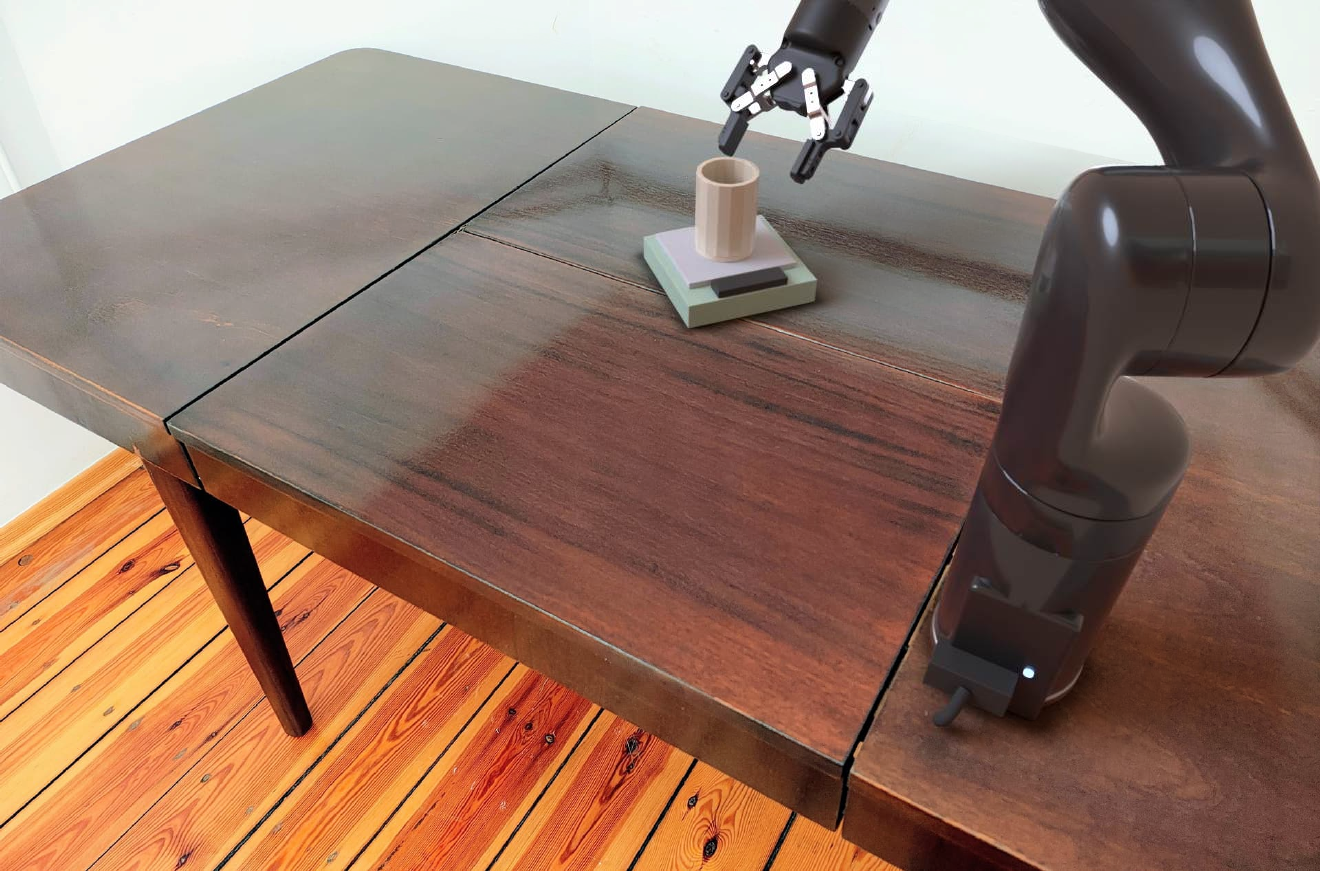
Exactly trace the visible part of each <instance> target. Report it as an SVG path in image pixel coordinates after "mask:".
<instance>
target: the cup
mask: <svg viewBox="0 0 1320 871" xmlns="http://www.w3.org/2000/svg"><path fill="white" fill-rule="evenodd" d="M760 174H761V170H760V168H759V167H758V166H757V165H756V164H755V163H753V162H751V161H750V160H749V159H745V158H741V157H736V156H732V157H730V156H719V157H713V158H710V159H707V160H705V161H703V162H701V163H700V164H699V165H698V166H697V168H696V171H695V210H694V211H695V212H694V226H695V249H696V251H697V252H698V254H699V255H701V256H702V257H704V258H706V259H708V260H711V261H715V262H723V263H728V262H736V261H740V260H743V259H745V258H747V257H749V256H750V255H751V254H752V252H753V251H754V243H755V231H756V217H757V215H758V205H759V204H758V203H759V202H758V201H759V191H760V190H759V189H760V188H759V187H760V176H761V175H760Z"/></svg>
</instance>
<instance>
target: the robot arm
mask: <svg viewBox="0 0 1320 871" xmlns="http://www.w3.org/2000/svg"><path fill="white" fill-rule="evenodd" d="M889 2H890V0H800V1H799V3H798V5H797V7H796V8H795V11H794V13H793V15H792V17H791V18H790V21H789V23H788V24H787V27H786V29H785V30H784V33H783V36H782V41H781V44H780V46H779V48H778V49H777V50H776V51H775V52H774V53H773V54H772V55H770V54H767V53H764V52H763V51H760V49H759V48H758V47H757V46H756V44H753V43H751V44H749V45H748V46H747V47H745V50H744V52H742V55H741V57H740V58H739V60H738V62H737V64H736V65H735V67H734V69H733V71H732V72H731V74H730V75H729V78H728V79H727V81H726V83H725V85H724V86H723V88H722V89H721V92H720V94H719V96H720V99H721V100H722V101H723V103H725V105H726V106H727V107H728V108H729V110H730V112H729V116H728V118H727V119H726V121H725V124H724V125H723V127H722V129H721V131H720V133H719V135H718V138H717V142H718V150H719V151H720V152H721V153H722V154H723V155H724V156H726V157H734V155H735V153H736V151H737V149H738V147H739V146H740V144H741V142H742V140H743V138H744V136H745V134H746V132H747V129H748V128H749V126H750V123H749V122H750V121H751V120H753V119H754V118H756V117H757V116H760V114H763V113H768V112H770V111H772V110H773V109H775V108H777V107H778V108H779V109H780V110H783V111H786V112H795V113H796V114H797V115H799V116H800V117H804V118H807V117H808V118H809V123H810V131H811V135H812V136H811V137H812V138H811V139H810V138H806V141H805V142H804V145H803V146H802V148H801V150H800V152H799V154H798V155H797V158H796V159H795V162H794V164H793V166H792V168H791V169H790V172H789V178H791V180H793V182H794V183H796V184H798V185H804V184H805V182H806V181H809V180H810V179H812V178H813V177H814V175H815V173H816V171H817V170H818V167H819V166H820V163H821V162H822V160H823V158H824V155H825V154H826V153H827V151H829V150H831V149H840V150H843V151H847V150H849V149H850V148H851V147H852V145H853V144H854V141H855V138H856V137H857V134H858V132H859V130H860V128H861V125H862V123H863V122H864V120H865V117H866V115H867V113H868V111H869V108H870V106H871V104H872V102H873V100H874V96H875V94H874V92H873V90H872V88H871V86H870V84H869V83H868V81H867V80H866V79H865V78H862V77H861V78H858V79H856V80H851V79H849V77H850V74H852V73H853V72H854V70H855V69H856V67H857V65H858V64H859V61H860V59H861V57H862V55H863V54H864V51H865V50H866V47H867V46H868V44H869V42H870V40H871V38H872V36H873V34H874V32H875V31H876V29H877V26H878V25H879V24H880V23H881V21H882V19H883V15H884V13H885V11H886V9H887V7H888V4H889ZM1036 2H1037V5H1038V8H1039V10H1040V12H1041V14H1042V15H1043V17H1044V19H1045V20H1046V22H1047V24H1048V26H1049V28H1050V29H1051V30H1052V31H1053V33H1054V34H1055V36H1056V37H1057V38H1058V39H1059V40H1060V42H1061V43H1062V44H1063V45H1064V46H1065V48H1066V49H1067V50H1068V51H1069V52H1070V53H1071V54H1072V55H1073V56H1074V57H1075V58H1076V59H1077V60H1078V61H1079V62H1080V63H1081V64H1082V65H1083V67H1085V68H1086V69H1087V70H1088V71H1089V73H1091V74H1092V75H1093V76H1094V77H1095V78H1096V79H1097V80H1098V81H1100V82H1101V84H1103V85H1104V86H1105V88H1107V89H1108V90H1109V91H1110V92H1111V93H1112V94H1113V95H1114V96H1115V97H1117V99H1119V100H1120V101H1121V102H1122V104H1124V105H1125V107H1127V109H1129V111H1130V112H1131V113H1132V114H1133V115H1134V116H1135V117H1136V119H1138V121H1139V122H1140V123H1141V124H1142V126H1143V127H1144V129H1145V130H1146V131H1147V132H1148V134H1149V136H1150V137H1151V139H1152V141H1153V143H1154V144H1155V146H1156V148H1157V150H1158V152H1159V154H1160V156H1161V159H1162V161H1163V164H1103V165H1095V166H1092V167H1089V168H1086V169H1084V170H1083V171H1082V172H1080V173H1078V174H1077V175H1076V176H1075V177H1074V178H1073V179H1072V180H1070V182H1069V183H1068V184H1067V185H1066V187H1065V188H1064V189H1063V191H1062V192H1061V194H1060V195H1059V196H1058V198H1057V200H1056V202H1055V204H1054V206H1053V208H1052V210H1051V212H1050V214H1049V218H1048V220H1047V223H1046V226H1045V228H1044V230H1043V234H1042V238H1041V241H1040V245H1039V249H1038V252H1037V255H1036V260H1035V264H1034V268H1033V271H1032V278H1031V281H1030V285H1029V290H1028V294H1027V298H1026V301H1025V306H1024V309H1023V314H1022V317H1021V321H1020V326H1019V328H1018V329H1019V330H1018V333H1017V336H1016V340H1015V343H1014V347H1013V350H1012V353H1011V357H1010V361H1009V365H1008V370H1007V374H1006V378H1005V385H1004V390H1003V397H1002V402H1001V408H1000V413H999V416H998V419H997V423H996V425H995V426H996V427H995V429H994V433H993V436H992V439H991V442H990V445H989V448H988V451H987V453H986V454H987V455H986V457H985V459H984V464H983V466H982V469H981V472H980V475H979V478H978V480H977V483H976V487H975V490H974V493H973V496H972V499H971V502H970V505H969V508H968V512H967V514H966V518H965V519H964V520H965V521H964V523H963V526H962V529H961V533H960V536H959V539H958V542H957V546H956V548H955V551H954V555H953V557H952V560H951V563H950V567H949V570H948V573H947V576H946V579H945V582H944V585H943V589H942V592H941V595H940V598H939V600H938V602H937V604H936V606H935V608H934V611H933V614H932V618H931V620H930V625H929V640H930V645H931V649H932V653H931V656H930V658H929V660H928V664H927V667H926V670H925V673H924V676H923V678H922V684H924V685H927V686H929V687H931V688H934V689H937V690H939V691H941V692H942V693H946V694H948V695H950V696H951V698H950V700H949V701H948V703H947V705H946V706H945V708H943V710H941V711H940V712H936V713H933V715H932V717H931V722H932V723H933V725H934V726H936V727H937V728H942V727H947V726H950V725H951V724H952V723H953V722H954V721H955V720H956V719H957V717H958V716H959V715H960V713H961V712H962V710H963V708H964V707H965V705H966V704H967V703H968V704H970V705H973V706H975V707H977V708H979V709H982V710H984V711H987V712H989V713H991V714H993V715H996V716H997V717H1000V718H1003V717H1004V716H1005V713H1006V711H1009V712H1011V713H1012V714H1013V713H1014V714H1015V715H1018V716H1020V717H1022V718H1025V719H1027V720H1030V721H1035V720H1037V718H1038V716H1039V714H1040V712H1041V710H1042V708H1045V707H1048V706H1051V705H1053V704H1055V703H1057V702H1058V701H1060V700H1062V699H1063V698H1065V697H1066V696H1067V695H1068V694H1069V692H1071V690H1072V689H1073V687H1074V686H1075V684H1076V682H1077V681H1078V679H1079V676H1080V675H1081V673H1082V670H1083V667H1084V664H1085V662H1086V660H1087V658H1088V656H1089V654H1090V652H1091V651H1092V649H1093V646H1094V645H1095V642H1096V641H1097V639H1098V637H1099V635H1100V633H1101V631H1102V630H1103V628H1104V625H1105V624H1106V622H1107V620H1108V618H1109V616H1110V615H1111V612H1113V609H1114V607H1115V605H1116V604H1117V602H1118V599H1119V598H1120V596H1121V594H1122V593H1123V590H1124V588H1125V586H1126V585H1127V583H1128V580H1129V579H1130V577H1131V576H1132V574H1133V573H1134V570H1135V568H1136V566H1137V564H1138V563H1139V561H1140V559H1141V557H1142V555H1143V553H1144V551H1145V549H1146V548H1147V545H1148V544H1149V542H1150V540H1151V539H1152V537H1153V535H1154V533H1155V532H1156V530H1157V528H1158V526H1159V524H1160V522H1161V521H1162V519H1163V517H1164V515H1165V513H1166V512H1167V509H1168V507H1169V505H1170V503H1171V502H1172V500H1173V498H1174V496H1175V494H1176V493H1177V491H1178V489H1179V487H1180V485H1181V483H1182V482H1183V480H1184V478H1185V476H1186V474H1187V471H1188V469H1189V467H1190V463H1191V460H1192V455H1193V444H1192V443H1193V442H1192V441H1193V440H1192V436H1191V434H1190V431H1189V428H1188V426H1187V424H1186V422H1185V420H1184V419H1183V417H1182V415H1180V413H1179V411H1178V410H1177V409H1176V408H1175V407H1174V406H1173V405H1172V404H1171V403H1170V402H1169V401H1168V400H1167V399H1166V398H1165V397H1164V396H1162V395H1161V394H1160V393H1158V392H1157V391H1156V390H1154V389H1153V388H1151V387H1150V386H1148V385H1147V384H1145V383H1143V382H1141V381H1140V380H1138V379H1135V378H1133V377H1147V378H1181V379H1182V378H1187V379H1201V378H1203V379H1249V378H1261V377H1268V376H1274V375H1278V374H1281V373H1282V374H1283V373H1284V372H1287V371H1289V370H1292V369H1293V368H1295V367H1296V366H1299V364H1301V363H1302V362H1304V361H1305V360H1306V359H1308V357H1309V356H1310V355H1311V354H1312V353H1313V352H1314V351H1315V349H1316V348H1317V346H1318V344H1319V343H1320V177H1319V175H1318V172H1317V170H1316V167H1315V165H1314V162H1313V159H1312V157H1311V155H1310V152H1309V149H1308V148H1307V145H1306V142H1305V140H1304V138H1303V135H1302V133H1301V130H1300V128H1299V126H1298V123H1297V121H1296V119H1295V117H1294V116H1295V115H1294V113H1293V111H1292V108H1291V107H1290V104H1289V102H1288V100H1287V97H1286V94H1285V92H1284V90H1283V88H1282V85H1281V82H1280V79H1279V77H1278V74H1277V73H1276V70H1275V68H1274V65H1273V62H1272V60H1271V58H1270V55H1269V52H1268V50H1267V47H1266V44H1265V41H1264V38H1263V34H1262V32H1261V29H1260V25H1259V22H1258V18H1257V15H1256V12H1255V8H1254V4H1253V1H1252V0H1036ZM766 70H767V75H765V76H764V72H765V71H766ZM763 76H764V77H763ZM758 77H763V78H761V79H759V80H758V81H757V79H758ZM768 92H769V95H765V94H766V93H768ZM842 96H843V100H844V102H845V103H844V105H843V107H842V109H841V112H840V113H839V116H838V118H837V120H836V122H835V125H834V126H833V128H831V127H832V119H831V112H830V106H829V105H830V104H832V103H834V102H835V101H836V100H838V99H840V98H841V97H842Z"/></svg>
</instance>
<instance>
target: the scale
mask: <svg viewBox="0 0 1320 871" xmlns="http://www.w3.org/2000/svg"><path fill="white" fill-rule="evenodd" d="M643 258H644V261H645V262H646V263H647V265H648V266H649V269H651V272H652V273H653V274H654V276H655V278H656V280H657V281H658V283H659V284H660V286H661V287H662V289H663V290H664V292H665V294H666V295H667V297H668V298H669V300H670V302H671V303H672V305H673V306H674V308H675V309H676V311H677V312H678V314H679V316H680V317H681V319H682V321H683V322H684V324H685V325H686V327H687V328H688V329H692V328H693V329H694V328H696V327H697V328H698V327H701V326H706V325H711V324H716V323H720V322H725V321H729V320H734V319H739V318H744V317H750V316H752V315H753V316H754V315H758V314H762V313H767V312H772V311H776V310H777V311H778V310H782V309H786V308H791V307H796V306H800V305H805V304H809V303H813V302H815V300H816V292H817V284H818V279H817V277H815V275H814V274H813V273H812V272H811V270H810V269H808V267H807V265H805V264H804V263H803V261H802V260H801V259H800V258H799V256H797V254H796V253H795V252H794V251H793V249H792V248H791V247H790V246H789V245H788V244H787V243H786V240H784V239H783V238H782V237H781V235H780V234H779V233H778V232H777V231H776V229H774V227H773V226H772V225H771V224H770V223H769V221H768V220H767V219H766V218H765V217H764V215H763V214H757V217H756V231H755V243H754V251H753V252H752V254H751V255H750V256H749V257H747V258H745V259H743V260H740V261H736V262H728V263H723V262H715V261H711V260H708V259H706V258H704V257H702V256H701V255H699V254H698V252H697V251H696V249H695V225H693V226H688V227H683V228H678V229H672V230H667V231H662V232H657V233H654V234H650V235H645V236H643Z"/></svg>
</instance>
